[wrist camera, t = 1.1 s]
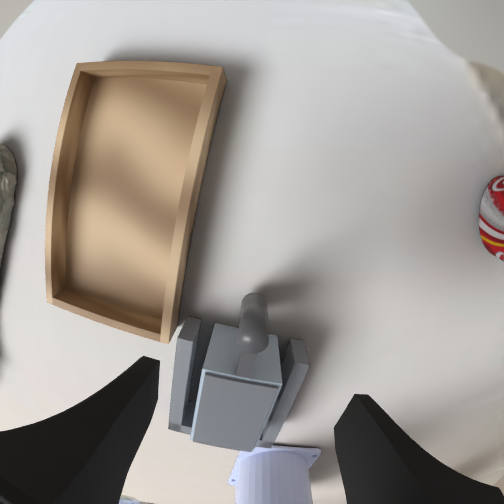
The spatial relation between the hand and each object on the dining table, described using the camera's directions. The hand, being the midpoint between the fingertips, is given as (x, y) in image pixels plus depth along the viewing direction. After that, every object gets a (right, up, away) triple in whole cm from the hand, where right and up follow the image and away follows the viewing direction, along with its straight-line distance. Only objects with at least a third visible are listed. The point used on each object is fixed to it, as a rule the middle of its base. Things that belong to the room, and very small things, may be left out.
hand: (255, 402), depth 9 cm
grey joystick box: (-1, -2, +11) cm, 11 cm away
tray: (-9, +9, +8) cm, 15 cm away
